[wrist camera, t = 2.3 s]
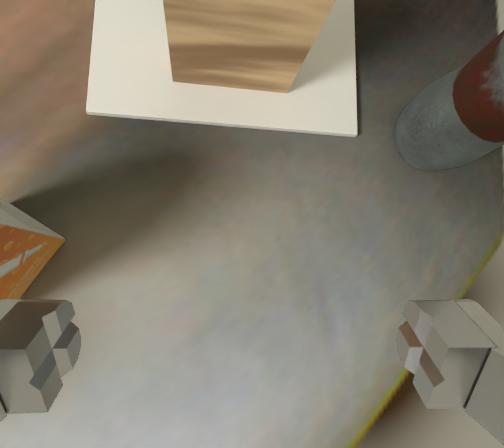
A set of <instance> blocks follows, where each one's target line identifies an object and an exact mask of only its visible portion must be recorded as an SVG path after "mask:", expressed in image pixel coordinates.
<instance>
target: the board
mask: <svg viewBox="0 0 504 448" xmlns="http://www.w3.org/2000/svg"><path fill="white" fill-rule="evenodd" d="M86 112H87V114H89V115H101V116H113V117H124V118H136V119H148V120H160V121H172V122H183V123H195V124H207V125H219V126H230V127H242V128H254V129H266V130H278V131H289V132H301V133H313V134H325V135H337V136H348V137H356V136H357V98H356V60H355V22H354V0H336V1H335V3H334V5H333V7H332V8H331V10H330V12H329V14H328V16H327V18H326V20H325V22H324V24H323V26H322V28H321V29H320V31H319V33H318V35H317V37H316V39H315V41H314V43H313V45H312V47H311V49H310V50H309V52H308V54H307V56H306V58H305V60H304V62H303V64H302V66H301V68H300V70H299V71H298V73H297V75H296V77H295V79H294V81H293V83H292V85H291V87H290V89H289V91H288V92H287V93H277V92H268V91H258V90H248V89H239V88H229V87H219V86H210V85H200V84H190V83H181V82H173V79H172V71H171V63H170V55H169V47H168V38H167V30H166V22H165V14H164V6H163V0H96V1H95V13H94V24H93V36H92V48H91V59H90V71H89V82H88V94H87V105H86Z"/></svg>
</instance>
